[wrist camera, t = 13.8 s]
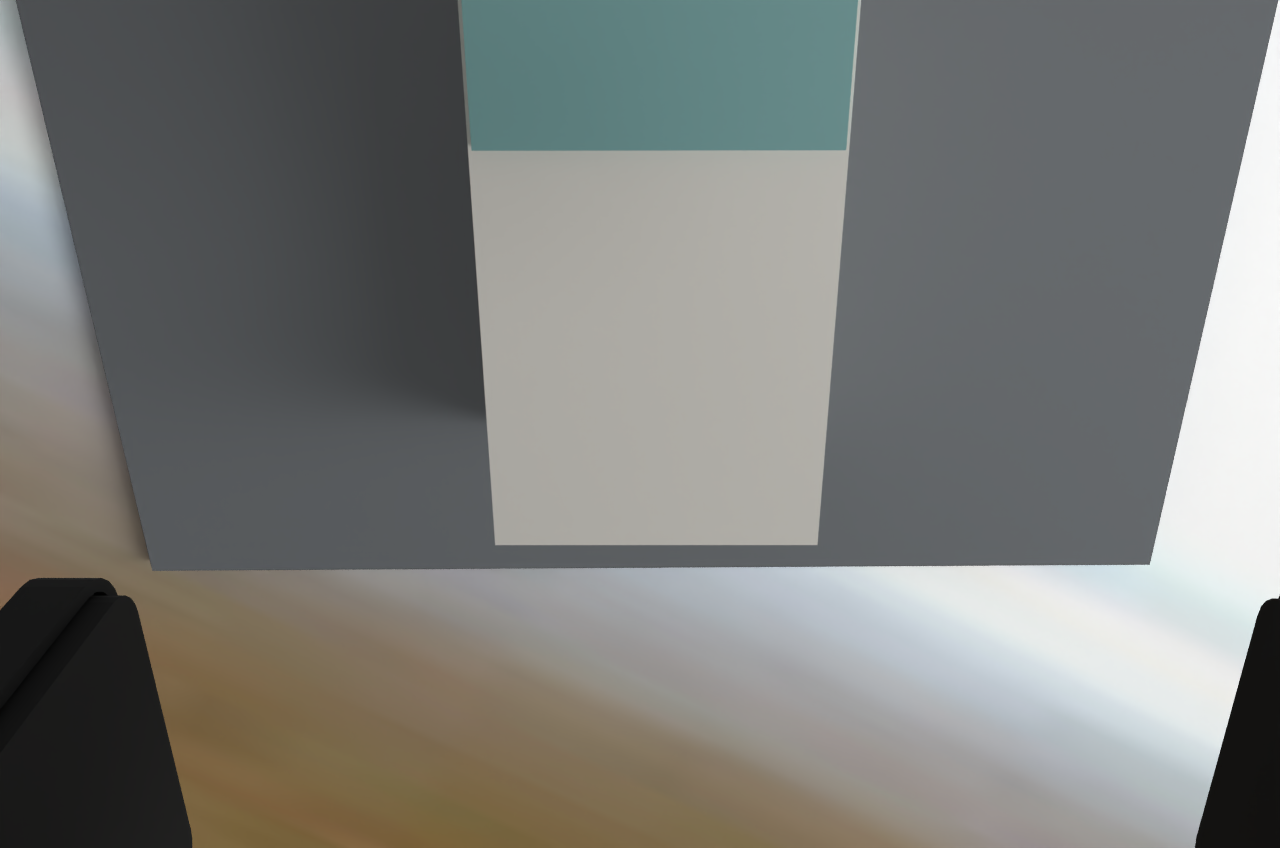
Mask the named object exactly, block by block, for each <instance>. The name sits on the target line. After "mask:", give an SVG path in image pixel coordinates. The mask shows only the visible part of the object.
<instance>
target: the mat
mask: <svg viewBox="0 0 1280 848" xmlns="http://www.w3.org/2000/svg"><path fill="white" fill-rule="evenodd" d="M16 3H17V7H18V11H19V15H20V19H21V23H22V28H23V32H24V36H25V40H26V44H27V49H28V53H29V57H30V61H31V65H32V69H33V74H34V78H35V82H36V86H37V90H38V94H39V99H40V103H41V107H42V111H43V115H44V120H45V124H46V128H47V132H48V136H49V140H50V145H51V149H52V153H53V157H54V161H55V165H56V170H57V174H58V178H59V182H60V186H61V191H62V195H63V199H64V203H65V207H66V211H67V216H68V220H69V224H70V228H71V232H72V236H73V241H74V245H75V249H76V253H77V257H78V262H79V266H80V270H81V274H82V278H83V282H84V287H85V291H86V295H87V299H88V303H89V308H90V312H91V316H92V320H93V324H94V328H95V333H96V337H97V341H98V345H99V349H100V353H101V358H102V362H103V366H104V370H105V374H106V379H107V383H108V387H109V391H110V395H111V399H112V404H113V408H114V412H115V416H116V420H117V424H118V429H119V433H120V437H121V441H122V445H123V450H124V454H125V458H126V462H127V466H128V470H129V475H130V479H131V483H132V487H133V491H134V495H135V500H136V504H137V508H138V512H139V516H140V521H141V525H142V529H143V533H144V537H145V541H146V546H147V550H148V554H149V558H150V562H151V566H152V571H175V570H338V569H500V568H663V567H826V566H988V565H1150V561H1151V556H1152V552H1153V547H1154V543H1155V539H1156V534H1157V530H1158V526H1159V521H1160V517H1161V512H1162V508H1163V504H1164V499H1165V495H1166V490H1167V486H1168V482H1169V477H1170V473H1171V468H1172V464H1173V460H1174V455H1175V451H1176V447H1177V442H1178V438H1179V433H1180V429H1181V425H1182V420H1183V416H1184V411H1185V407H1186V403H1187V398H1188V394H1189V389H1190V385H1191V381H1192V376H1193V372H1194V368H1195V363H1196V359H1197V354H1198V350H1199V346H1200V341H1201V337H1202V332H1203V328H1204V324H1205V319H1206V315H1207V310H1208V306H1209V302H1210V297H1211V293H1212V289H1213V284H1214V280H1215V275H1216V271H1217V267H1218V262H1219V258H1220V253H1221V249H1222V245H1223V240H1224V236H1225V231H1226V227H1227V223H1228V218H1229V214H1230V210H1231V205H1232V201H1233V196H1234V192H1235V188H1236V183H1237V179H1238V174H1239V170H1240V166H1241V161H1242V157H1243V152H1244V148H1245V144H1246V139H1247V135H1248V131H1249V126H1250V122H1251V117H1252V113H1253V109H1254V104H1255V100H1256V95H1257V91H1258V87H1259V82H1260V78H1261V73H1262V69H1263V65H1264V60H1265V56H1266V52H1267V47H1268V43H1269V38H1270V34H1271V30H1272V25H1273V21H1274V16H1275V12H1276V8H1277V3H1278V0H861V9H860V22H859V34H858V46H857V59H856V71H855V84H854V96H853V109H852V121H851V134H850V146H849V158H848V171H847V183H846V196H845V208H844V221H843V233H842V245H841V258H840V270H839V283H838V295H837V308H836V320H835V333H834V345H833V357H832V370H831V382H830V395H829V407H828V420H827V432H826V445H825V457H824V469H823V482H822V494H821V507H820V519H819V532H818V544H817V545H495V535H494V520H493V506H492V491H491V477H490V462H489V448H488V433H487V419H486V404H485V390H484V375H483V361H482V346H481V332H480V317H479V303H478V289H477V274H476V260H475V245H474V231H473V216H472V202H471V187H470V173H469V158H468V144H467V129H466V115H465V100H464V86H463V71H462V57H461V42H460V28H459V13H458V0H16Z"/></svg>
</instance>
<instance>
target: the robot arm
mask: <svg viewBox="0 0 1280 848" xmlns="http://www.w3.org/2000/svg"><path fill="white" fill-rule="evenodd" d="M0 848H192V834H191V828H190V824H189V820H188V816H187V812H186V808H185V804H184V800H183V795H182V791H181V787H180V783H179V779H178V775H177V771H176V767H175V762H174V758H173V754H172V750H171V746H170V742H169V738H168V734H167V729H166V725H165V721H164V717H163V713H162V709H161V705H160V701H159V696H158V692H157V688H156V684H155V680H154V676H153V672H152V668H151V664H150V659H149V655H148V651H147V647H146V643H145V639H144V635H143V631H142V626H141V622H140V618H139V614H138V611H137V608H136V605H135V603H134V602H133V600H132V599H131V598H130V597H127V596H118V595H117V593H116V590H115V588H114V587H113V586H112V584H111V583H110V582H109V581H107V580H105V579H103V578H37V579H32V580H29V581H28V582H27V583H25V584H24V585H23V586H22V587H21V588H20V589H19V590H18V591H17V592H16V593H15V594H14V595H13V597H12V598H11V599H10V600H9V601H8V602H7V603H6V604H5V605H4V607H3V608H2V609H1V610H0ZM1195 848H1280V596H1279V598H1278V599H1270V600H1267V601H1266V602H1265V603H1264V604H1263V605H1262V606H1261V608H1260V611H1259V613H1258V616H1257V619H1256V623H1255V627H1254V630H1253V634H1252V637H1251V641H1250V645H1249V648H1248V652H1247V656H1246V659H1245V663H1244V667H1243V670H1242V674H1241V677H1240V681H1239V685H1238V688H1237V692H1236V696H1235V699H1234V703H1233V707H1232V710H1231V714H1230V717H1229V721H1228V725H1227V728H1226V732H1225V736H1224V739H1223V743H1222V747H1221V750H1220V754H1219V757H1218V761H1217V765H1216V768H1215V772H1214V776H1213V779H1212V783H1211V787H1210V790H1209V794H1208V797H1207V801H1206V805H1205V808H1204V812H1203V816H1202V819H1201V823H1200V826H1199V830H1198V834H1197V838H1196V844H1195Z"/></svg>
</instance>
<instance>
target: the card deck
mask: <svg viewBox="0 0 1280 848" xmlns="http://www.w3.org/2000/svg"><path fill="white" fill-rule="evenodd" d="M860 9H861V0H458V13H459V28H460V42H461V57H462V71H463V86H464V100H465V115H466V129H467V144H468V158H469V173H470V187H471V202H472V216H473V231H474V245H475V260H476V274H477V289H478V303H479V317H480V332H481V346H482V361H483V375H484V390H485V404H486V419H487V433H488V448H489V462H490V477H491V491H492V506H493V520H494V535H495V545H817V544H818V532H819V519H820V507H821V494H822V482H823V469H824V457H825V445H826V432H827V420H828V407H829V395H830V382H831V370H832V357H833V345H834V333H835V320H836V308H837V295H838V283H839V270H840V258H841V245H842V233H843V221H844V208H845V196H846V183H847V171H848V158H849V146H850V134H851V121H852V109H853V96H854V84H855V71H856V59H857V46H858V34H859V22H860Z"/></svg>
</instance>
